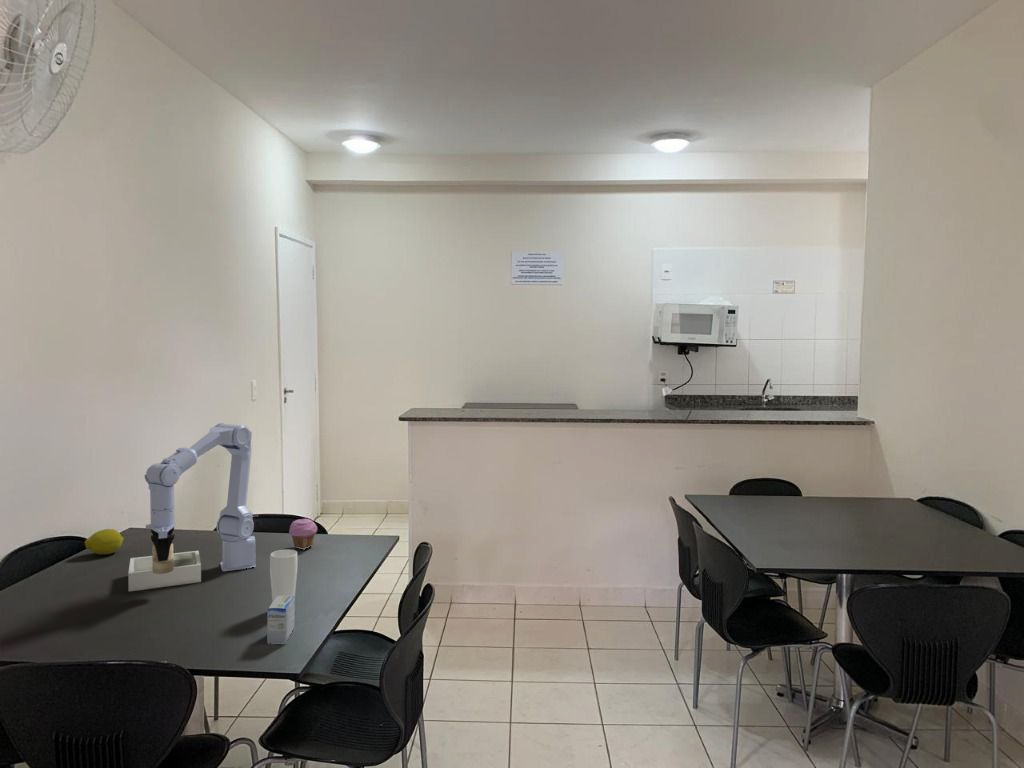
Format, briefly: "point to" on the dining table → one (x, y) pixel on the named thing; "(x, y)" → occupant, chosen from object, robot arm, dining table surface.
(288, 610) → the medicine box
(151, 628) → the dining table surface
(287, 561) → the drinking glass
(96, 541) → the lemon
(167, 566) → the wooden cylinder
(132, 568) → the box
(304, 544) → the cupcake
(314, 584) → the dining table surface
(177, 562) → the sage cube
